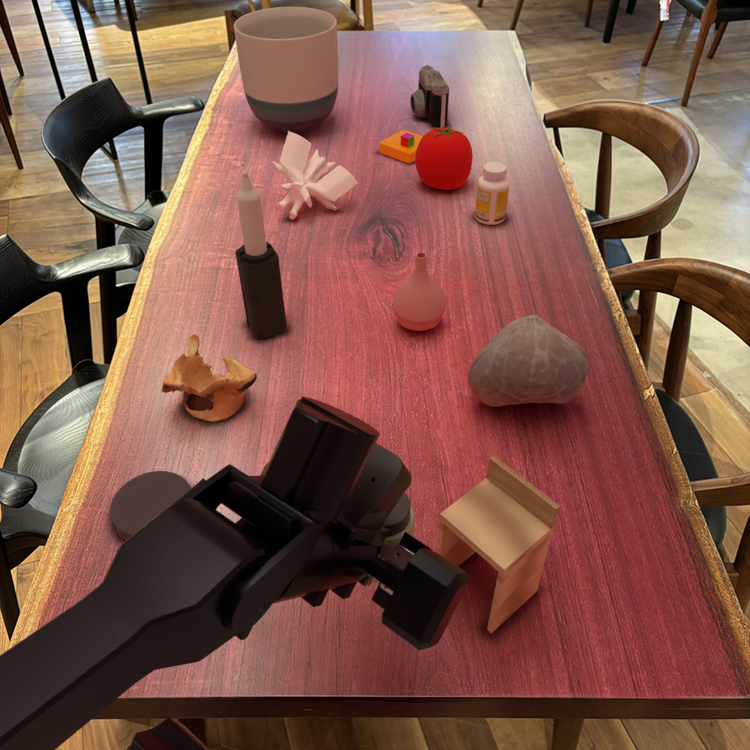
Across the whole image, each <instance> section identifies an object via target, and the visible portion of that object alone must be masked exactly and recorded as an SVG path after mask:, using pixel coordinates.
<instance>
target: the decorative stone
mask: <svg viewBox="0 0 750 750" xmlns="http://www.w3.org/2000/svg"><path fill="white" fill-rule="evenodd" d="M587 355H588V354H587V352H586V351H585V350H584V348H582V347H581V346H580V345H579V344H578V343H576V342H575V341H574V340H573V339H571V338H570V337H568V336H567V335H565V334H564V332H562V331H560V330H559V329H557V328H555V327H554V326H553V325H551V324H549V323H548V322H546V320H544V319H543V318H542V317H541V316H540V315H538V314H530V315H524V316H520V317H518V318H516V319H514V320H513V321H511V322H510V323H508V324H507V325H505V326H504V327H503V328H502V329H501V330H499V332H497V333H496V334H495V335H494V336H493V337H492V338H491V339H490V341H489V342H488V343H487V345H485V346H484V347H483V348H482V349H480V351H479V352H478V353H477V354H476V356H475V358H474V360H473V361H472V363H471V364H470V368H469V370H468V374H467V383H468V385H469V386H468V387H469V389H470V390H471V392H472V393H473V395H474V396H475V398H476V399H478V400H479V401H480V402H482V403H483V404H484V405H487V406H489V407H496V408H497V407H503V406H508V405H520V404H522V405H523V404H528V403H530V404H531V403H532V404H551V403H554V404H559V405H564V404H567V403H569V402H570V401H572V400H573V399H574V398H575V396H576V395H578V393H579V392H580V391H581V390H582V388H583V386H584V385H585V383H586V380H587V378H588V374H589V372H590V366H589V365H590V364H589V360H588V359H589V357H588V356H587Z"/></svg>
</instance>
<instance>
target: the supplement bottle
mask: <svg viewBox="0 0 750 750" xmlns="http://www.w3.org/2000/svg"><path fill="white" fill-rule="evenodd" d="M507 172H508V166H507V165H506V164H505V163H503V162H500V161H488V162H486V163H485V164H483V167H482V175H481V176H479V178H478V181H477V186H476V187H477V188H476V197H475V210H474V217H475V219H476V221H477V222H478V223H480V224H483V225H489V226H493V225H494V226H495V225H499V224H502V223H503V222H504V221H505V219H506V214H507V208H508V207H507V206H508V198H509V189H510V181H509V178H508V177H507Z"/></svg>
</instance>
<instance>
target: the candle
mask: <svg viewBox="0 0 750 750" xmlns="http://www.w3.org/2000/svg"><path fill="white" fill-rule="evenodd" d="M249 175H250V173H249V171H248V170H247V169H244V170H242V171H241V176H242V179H241V185H240V189H239V190H238V192H237V195H236V200H237V207H238V214H239V220H240V227H241V232H242V233H241V234H242V240H243V244H242V245H241V246H240V247H238V248H237V249H236V250H235V259H236V264H237V265H236V266H237V272H238V276H239V277H238V278H239V282H240V283H239V284H240V289H241V295H242V300H243V307H244V314H245V318H246V324H247V327H249V328H250V331H251V332H252V336H253V338H254V339H255V340H258V341H263V340H267V339H270V338H273V337H277V336H281V335H283V334H285V333H286V332H287V330H288V328H287V327H288V326H287V317H286V316H287V315H286V309H285V300H284V292H283V282H282V274H281V266H280V258H279V254H278V253H277V252H276V250H275V248H274V247H273V245H272V244H271V243H270V242H268V241H267V238H266V231H265V230H266V229H265V224H264V216H263V207H262V200H261V199H262V198H261V194H260V192H259V190H257V189H256V188H255V186H254V185H253V183H252V181H251V179H250V177H249Z"/></svg>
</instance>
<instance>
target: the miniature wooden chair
mask: <svg viewBox="0 0 750 750" xmlns="http://www.w3.org/2000/svg"><path fill="white" fill-rule="evenodd" d="M487 466H488V467H487V472H486V477H485V478H484V479H483V480H482V481H480V482H479V483H478V484H477V485H475V486H474V487H472V488H471V489H470V490H469V491H467V492H466V493H464V495H462V496H461V497H459V498H458V499H457V500H456V501H455V502H452V504H451V505H450V506H448V507H446V508H445V509H444V510H443V511H441V512H440V513H439V519H438V520H439V522H438V531H437V532H438V533H437V545H436V553H438V554H440V555H441V556H443V557H444V558H446V559H447V560H449V561H450V562H452V563H454V564H455V565H457V566H458V567H460V566H461V565H462V564H463V563H464V562H465V561H467V560H468V559H469V558H470V557H471V556H473V555H474V554H475V553H476V554H477V555H479V556H480V557H481V558H482V559H484V560H485V561H486V562H487V563H488V564H489V565H490V566H491V567H492V568H494V570H496V571H497V577H496V582H495V587H494V592H493V598H492V602H491V608H490V613H489V616H488V617H489V618H488V623H487V627H486V630H487V631H488V632H489V633H490V634H493V632H495V631H496V630H497V629H498V628H499V627H500V626H501V625H502V624H504V623H505V622H506V620H508V619H509V618H510V617H511V616H512V615H513V614H514V613H515V612H516V611H517V610H519V608H520V607H522V606H523V605H524V604H525V603H526V602H527V601H528V600H529V599H530V598H531V597H533V596H534V595H535V594H536V593H537V592H538V589H539V585H540V581H541V577H542V574H543V571H544V567H545V562H546V560H547V557H548V553H549V549H550V545H551V541H552V538H553V535H554V534H553V533H554V530H555V527H556V523H557V519H558V516H559V512H560V508H561V505H560V504H558V503H557V502H556V501H555V500H553V499H552V498H551V497H549V496H548V495H547V494H545V492H542V491H541V490H540V489H539V488H537V487H536V486H535V485H534V484H532V483H531V482H530V481H528V480H527V479H525V478H524V477H523V476H521V475H520V474H519V473H518V472H516V471H515V470H514V469H513V468H511V467H510V466H508V465H507V464H506V463H504V462H503V461H502V460H501V459H499V458H498V457H497V456H496V455H492V456H490V457H489V458H488V464H487Z"/></svg>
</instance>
